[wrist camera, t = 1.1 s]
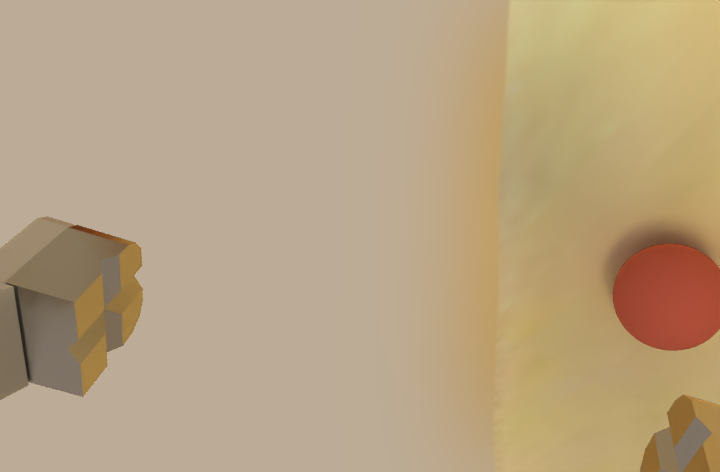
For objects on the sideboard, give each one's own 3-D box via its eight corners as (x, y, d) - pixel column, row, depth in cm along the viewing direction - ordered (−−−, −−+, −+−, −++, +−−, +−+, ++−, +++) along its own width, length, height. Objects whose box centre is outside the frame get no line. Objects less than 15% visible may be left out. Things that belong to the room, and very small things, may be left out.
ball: (745, 280, 40) (765, 325, 34) (661, 340, 43) (668, 390, 37) (669, 209, 40) (678, 243, 35) (591, 273, 43) (588, 314, 37)
